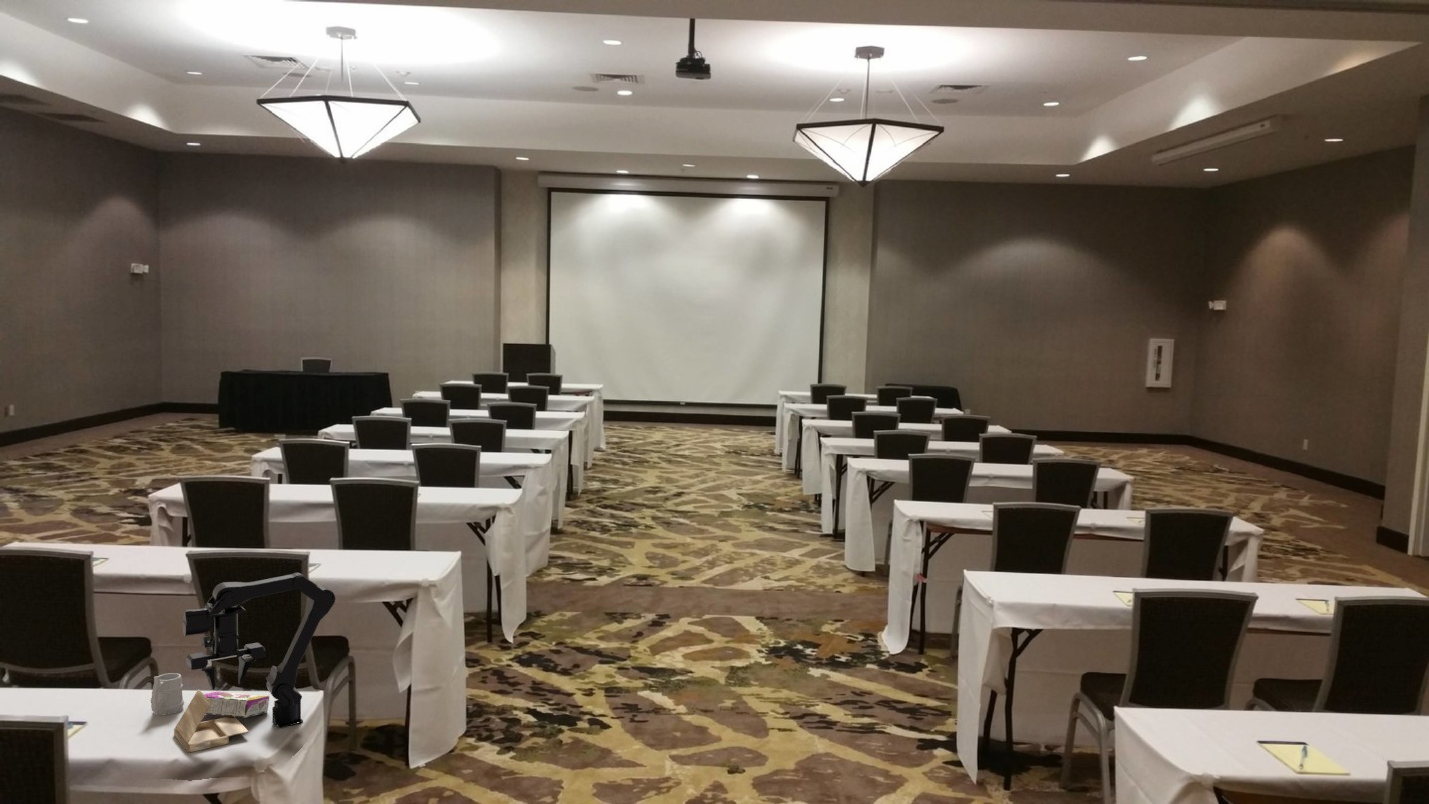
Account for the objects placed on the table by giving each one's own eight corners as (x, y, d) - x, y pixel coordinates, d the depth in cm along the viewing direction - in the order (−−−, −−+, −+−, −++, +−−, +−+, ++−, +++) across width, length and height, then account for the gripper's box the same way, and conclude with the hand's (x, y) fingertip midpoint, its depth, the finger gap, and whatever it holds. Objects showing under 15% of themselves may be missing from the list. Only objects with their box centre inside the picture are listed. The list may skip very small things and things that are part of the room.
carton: (232, 722, 288) (232, 715, 288) (249, 739, 277) (249, 731, 276) (173, 735, 278) (173, 727, 278) (188, 753, 267) (188, 745, 267)
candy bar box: (217, 690, 298) (270, 695, 296) (215, 708, 298) (267, 713, 295) (193, 694, 288) (248, 700, 285) (190, 713, 287) (245, 718, 284)
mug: (189, 705, 299) (189, 665, 298) (166, 721, 287) (165, 679, 286) (163, 704, 299) (163, 664, 298) (139, 720, 287) (138, 678, 286)
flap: (175, 728, 277) (199, 689, 280) (188, 743, 268) (212, 703, 271) (175, 727, 277) (198, 689, 280) (187, 742, 268) (211, 702, 271)
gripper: (253, 617, 290) (253, 671, 291) (180, 629, 278) (181, 685, 279) (265, 627, 281) (266, 683, 283) (191, 639, 269) (192, 697, 271)
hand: (226, 686), depth 279 cm, fingers open, 6 cm apart
